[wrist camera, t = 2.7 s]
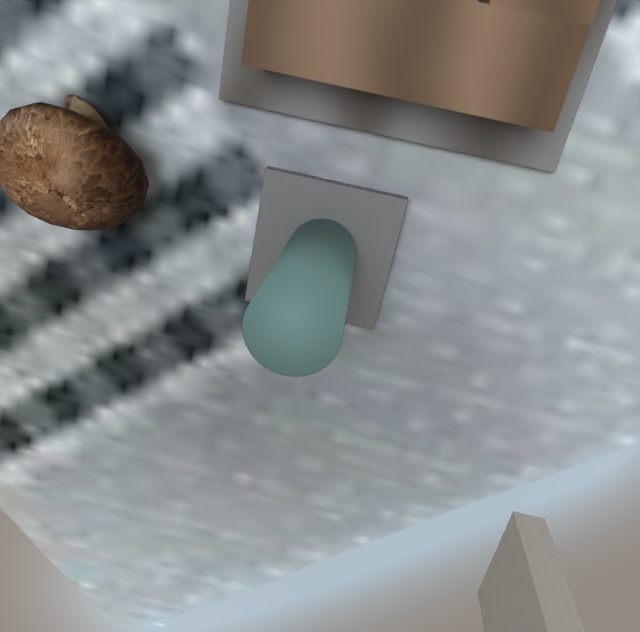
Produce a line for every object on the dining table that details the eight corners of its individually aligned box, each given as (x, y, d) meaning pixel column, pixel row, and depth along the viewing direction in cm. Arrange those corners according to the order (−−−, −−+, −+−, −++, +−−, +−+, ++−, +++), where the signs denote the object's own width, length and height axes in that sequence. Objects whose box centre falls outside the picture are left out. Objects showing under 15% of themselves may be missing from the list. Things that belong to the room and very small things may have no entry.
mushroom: (30, 28, 27) (-20, 118, 24) (184, 114, 31) (157, 201, 27) (5, 129, 33) (-38, 211, 30) (136, 190, 36) (110, 269, 33)
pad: (247, 295, 35) (244, 300, 34) (268, 166, 31) (265, 168, 31) (374, 324, 34) (373, 329, 34) (407, 197, 31) (408, 200, 30)
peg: (282, 277, 33) (235, 364, 23) (294, 211, 31) (249, 274, 21) (348, 292, 33) (331, 386, 23) (363, 227, 31) (352, 297, 21)
